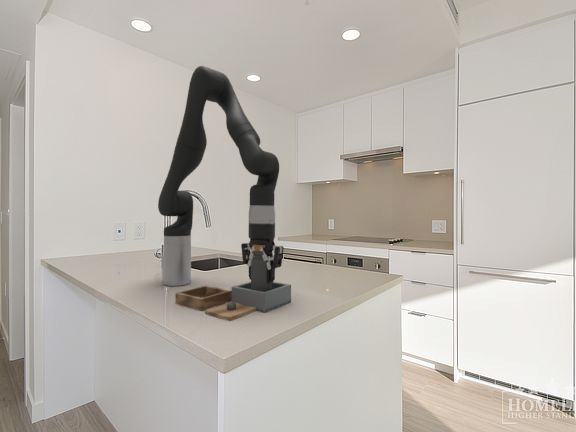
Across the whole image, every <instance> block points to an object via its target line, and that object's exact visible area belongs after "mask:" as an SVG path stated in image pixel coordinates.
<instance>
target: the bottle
mask: <svg viewBox="0 0 576 432" xmlns="http://www.w3.org/2000/svg"><path fill="white" fill-rule="evenodd" d="M253 246H254V249H255V251H253V254H254V255H255V257H254V258H253V259H252V260H251V280H250V282H251V290H256V291H261V292H267V291H270V290H272V283H267V270H268V268H267V265H266V262H264V260H263V257H262V255H264V254H263V252H261V251H260V249H261V246H262V247H265V245H259V244H253ZM268 258H270V257H268ZM270 263H271V261H270Z"/></svg>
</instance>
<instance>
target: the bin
mask: <svg viewBox="0 0 576 432" xmlns="http://www.w3.org/2000/svg"><path fill="white" fill-rule="evenodd" d="M230 291H231V301H230V302H234V303H238V304H243V305H247V306H251V307H255V308H256V311H255V312H259V313H264V314H265V313H268V312H271V311H273V310H275V309H277V308H279V307H280V308H281V307H283V306H284V305H287V304H290V303H291V302H292V284H289V283H282V282H278V281H273V282H272V290H270V291H267V292H261V291H256V290H251V281H249V282H244V283H240V284H238V285H233V286H231V290H230Z"/></svg>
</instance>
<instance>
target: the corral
mask: <svg viewBox="0 0 576 432" xmlns="http://www.w3.org/2000/svg"><path fill="white" fill-rule="evenodd" d="M174 297H175V298H174V299H175V304H176V305H179V306H183V307H186V308H190V309H193V310H196V311H201V312H202V311H205V310H208V309H211V308H214V307H217V306H220V305H223V304H226V303H230V302H231V290H229V289H224V288H218V287H215V286H210V285H202V286H199V287H194V288H191V289H187V290H186V289H185V290H182V291H178V292H175V296H174Z"/></svg>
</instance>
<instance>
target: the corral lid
mask: <svg viewBox="0 0 576 432" xmlns="http://www.w3.org/2000/svg"><path fill="white" fill-rule="evenodd" d="M255 312H257V311H256V308H255V307H251V306H247V305H243V304H238V303H234V302H231V301H230V302H227V303H224V304H221V305H218V306H215V307H212V308H209V309H206V310H204V314H205V315H208V316H211V317H215V318H218V319H222V320H225V321H229V322H231V321H233V320H236V319H238V318H239V319H240V317H244V316H246V315H249V314H251V313H255Z"/></svg>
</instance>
